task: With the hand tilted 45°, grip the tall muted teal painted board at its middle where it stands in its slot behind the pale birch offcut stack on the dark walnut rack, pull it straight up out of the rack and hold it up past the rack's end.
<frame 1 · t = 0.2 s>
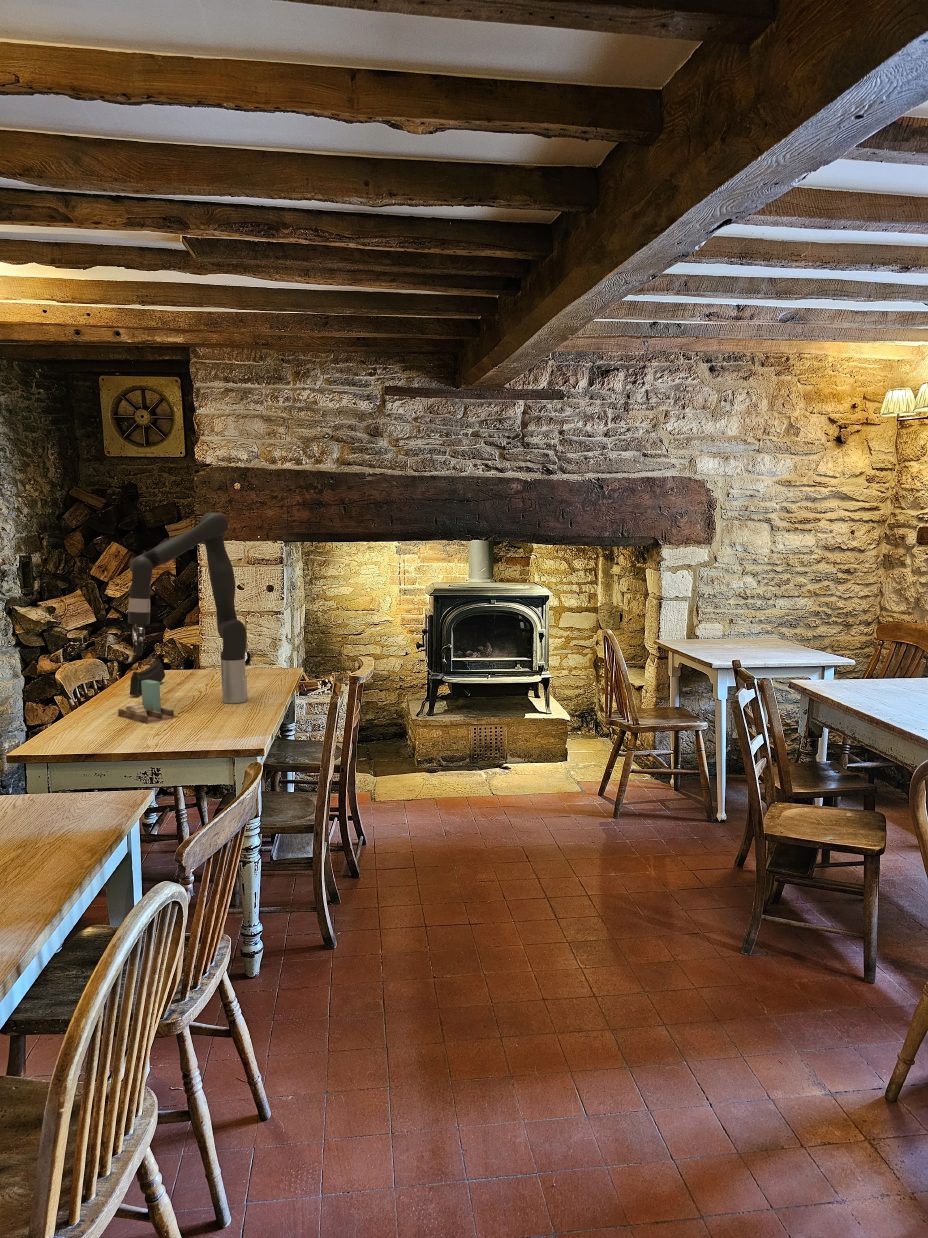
hand: (137, 654, 300), 23 cm above the table, tool pointing down, fingers open, 8 cm apart
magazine: (148, 690, 344), on the table
offcut stack: (135, 717, 293), point 1 cm above the table, touching walnut rack
teal board: (152, 713, 298), point 1 cm above the table, touching walnut rack
walnut rack: (148, 720, 294), on the table
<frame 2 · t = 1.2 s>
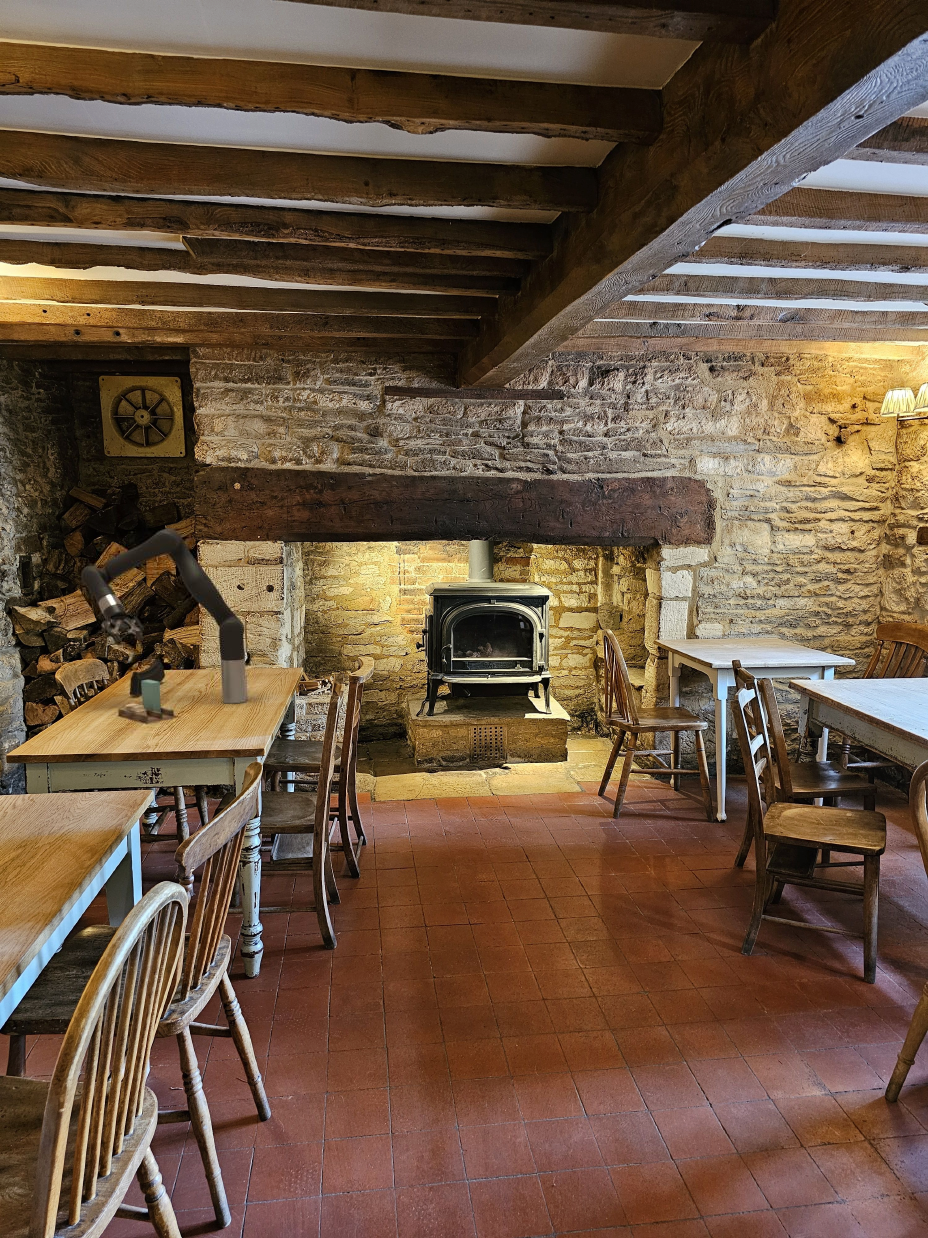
hand: (130, 642, 302), 27 cm above the table, tool tilted 45°, fingers open, 8 cm apart
nothing on the table moved.
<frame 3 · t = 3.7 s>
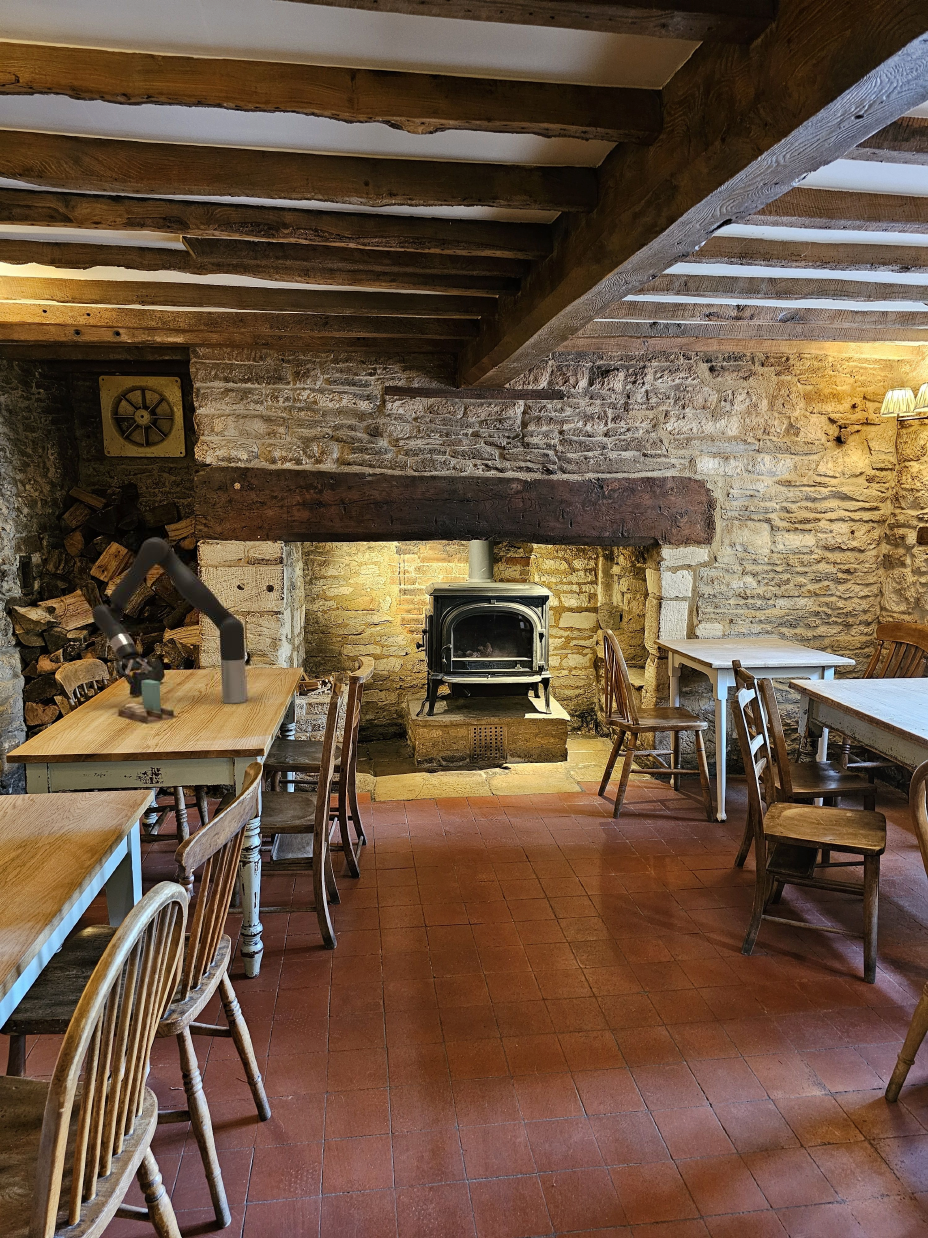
hand: (143, 682, 299), 13 cm above the table, tool tilted 45°, fingers open, 8 cm apart
nothing on the table moved.
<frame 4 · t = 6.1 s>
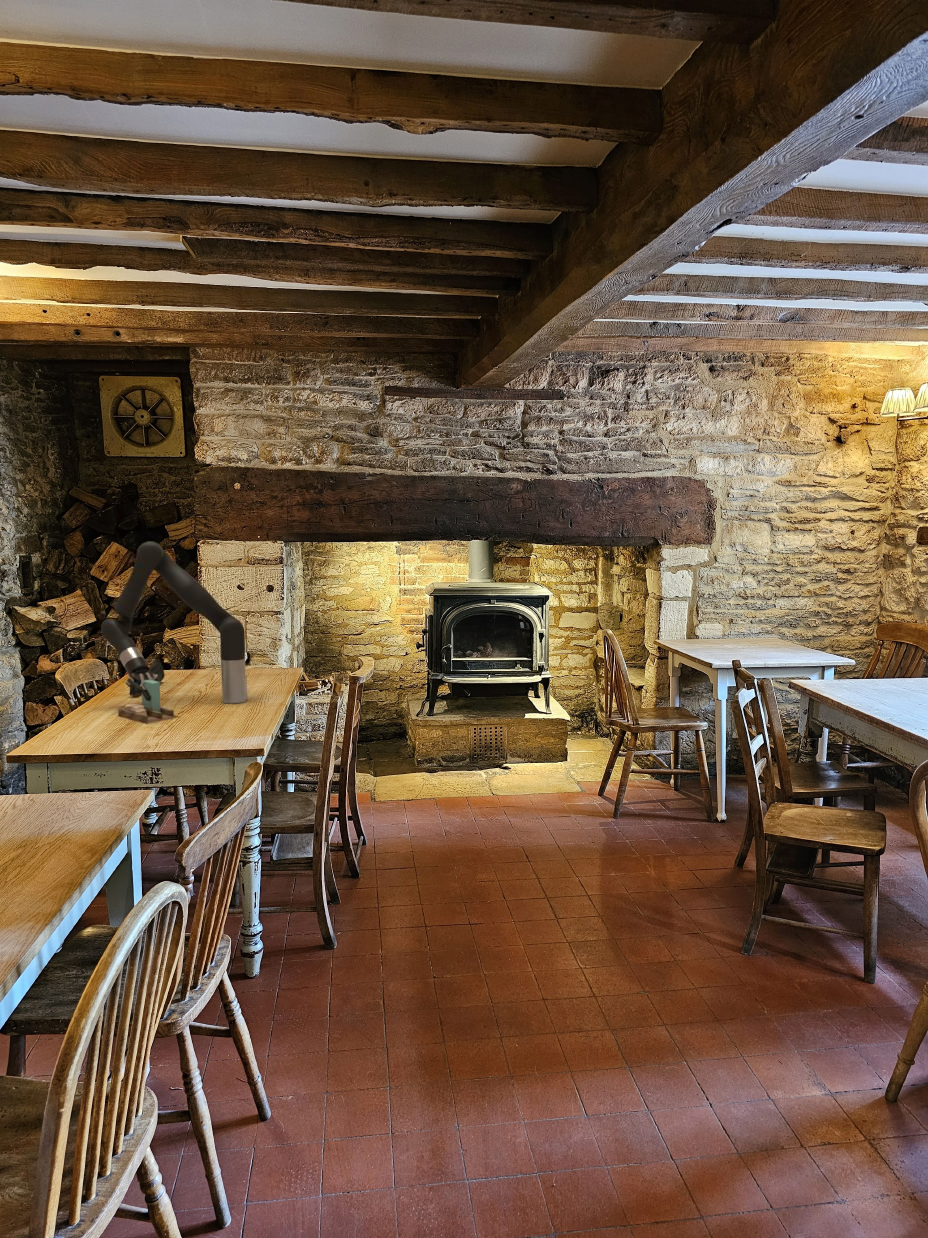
hand: (154, 698, 296), 7 cm above the table, tool tilted 45°, fingers closed on teal board, 3 cm apart
teal board: (151, 713, 298), point 2 cm above the table, touching gripper
everything else where it was.
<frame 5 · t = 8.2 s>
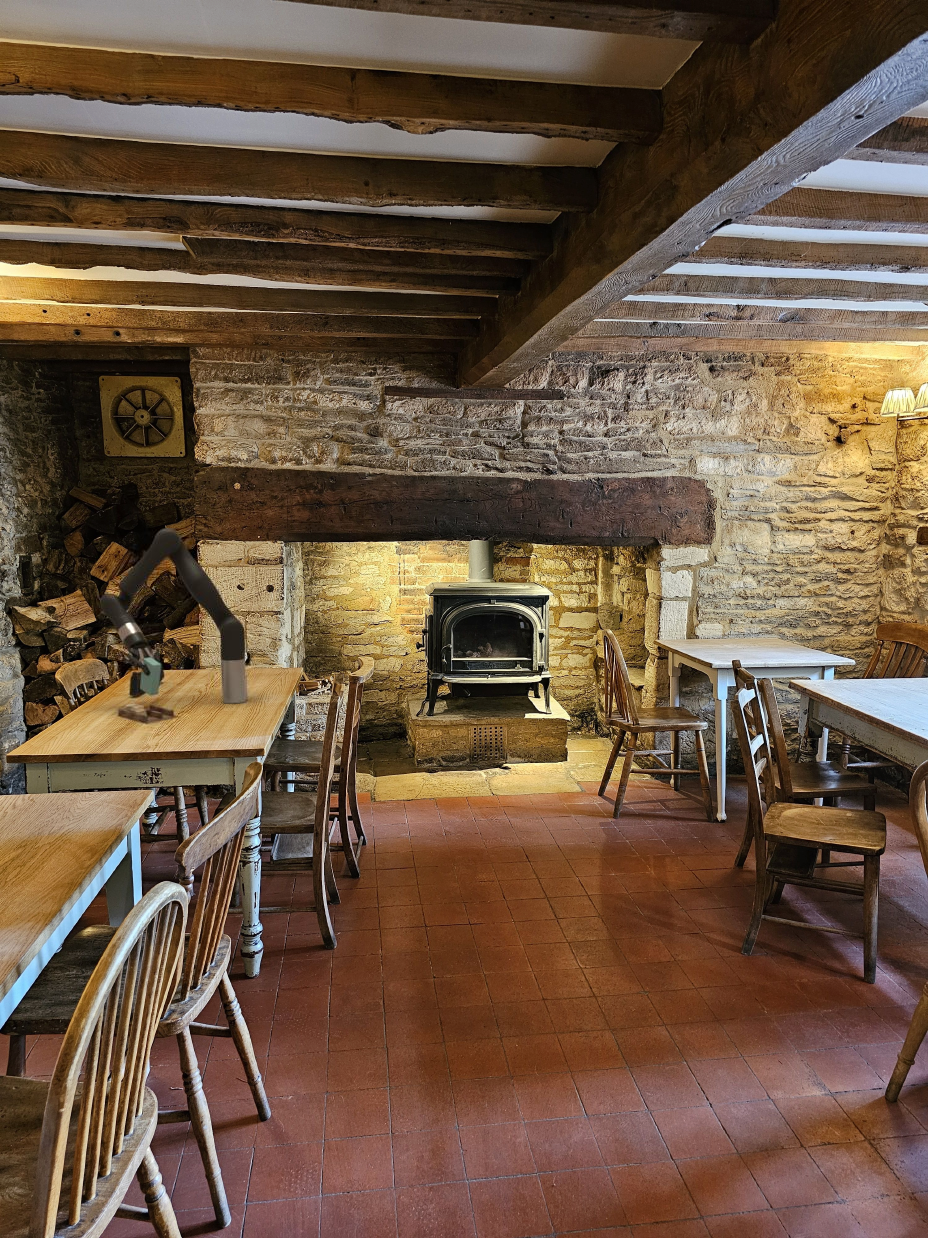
hand: (153, 673, 295), 17 cm above the table, tool tilted 45°, fingers closed on teal board, 2 cm apart
teal board: (148, 691, 298), point 10 cm above the table, tilted 15°, touching gripper
everything else where it was.
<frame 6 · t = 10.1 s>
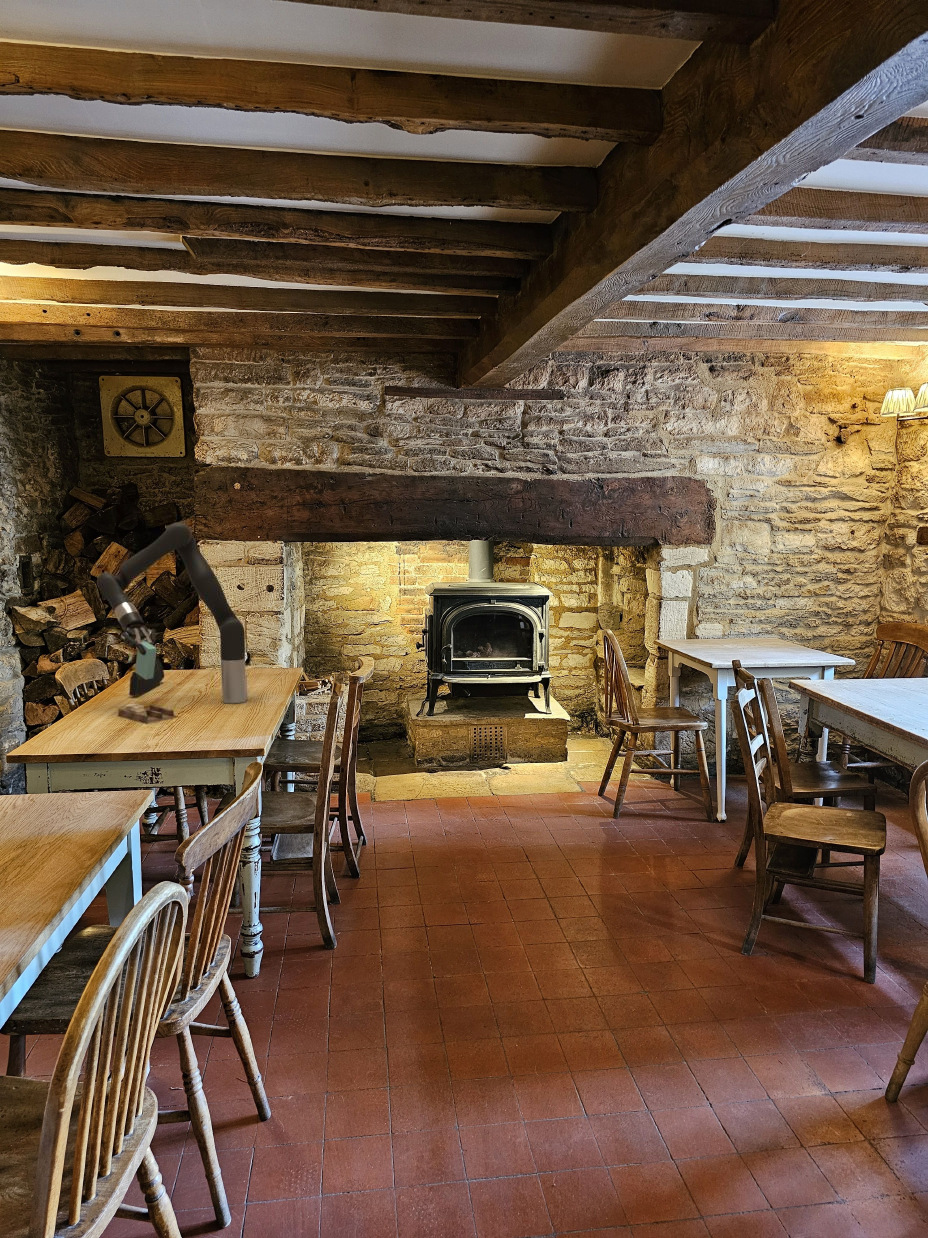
hand: (149, 653, 295), 24 cm above the table, tool tilted 45°, fingers closed on teal board, 2 cm apart
teal board: (144, 675, 298), point 15 cm above the table, tilted 16°, touching gripper
everything else where it was.
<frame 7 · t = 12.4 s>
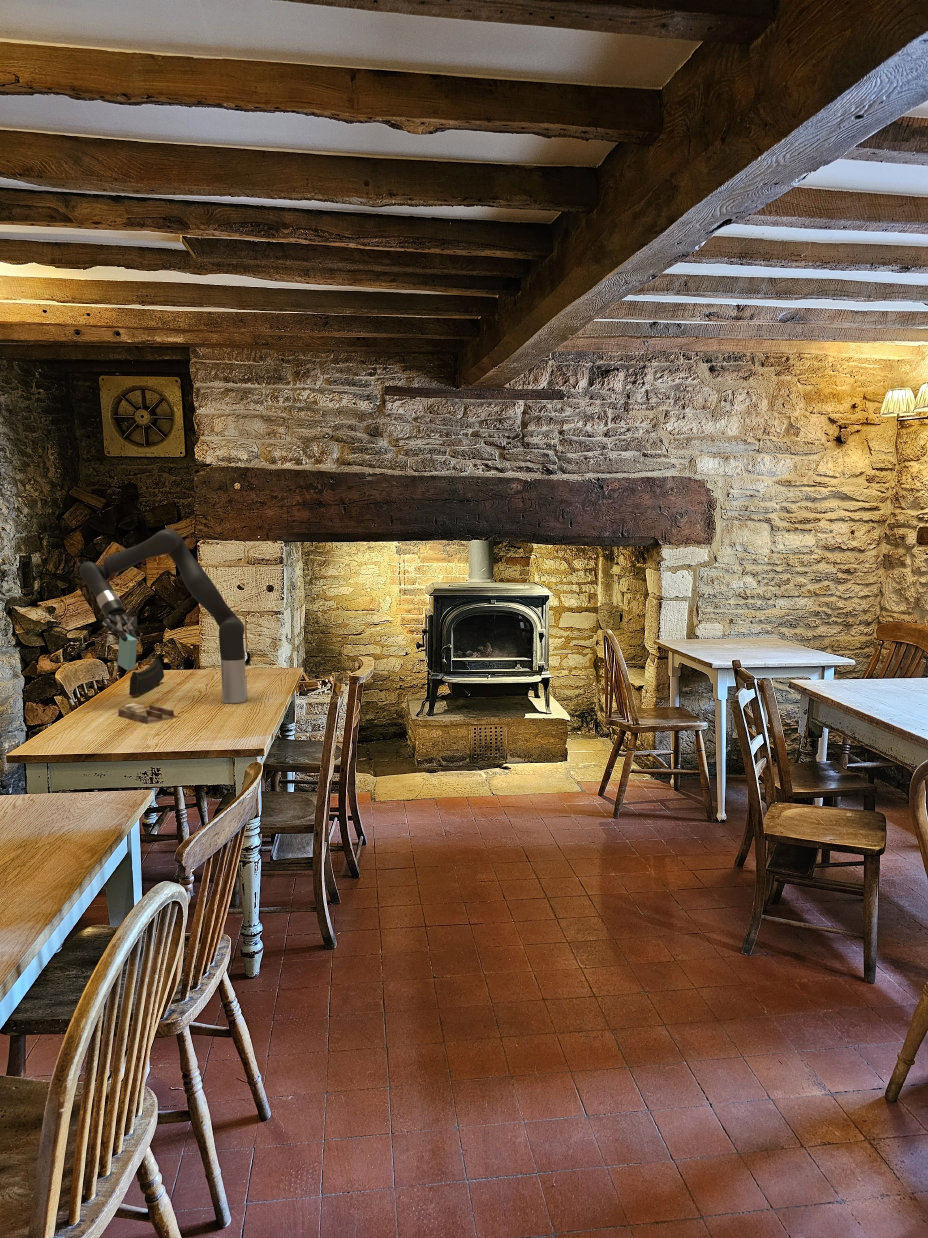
hand: (130, 639, 302), 28 cm above the table, tool tilted 45°, fingers closed on teal board, 2 cm apart
teal board: (126, 666, 305), point 17 cm above the table, tilted 13°, touching gripper
everything else where it was.
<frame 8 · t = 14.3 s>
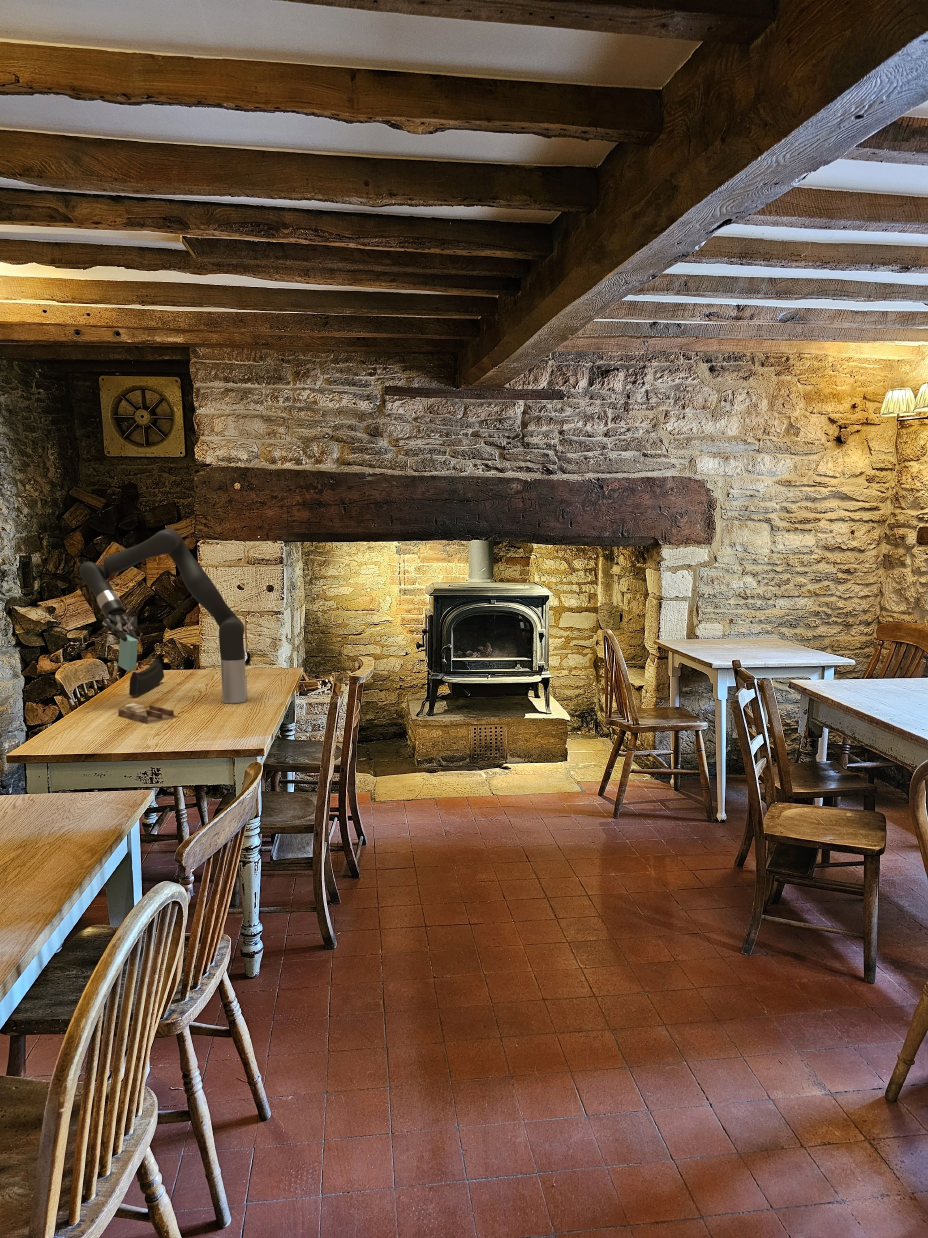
hand: (130, 639, 302), 28 cm above the table, tool tilted 45°, fingers closed on teal board, 3 cm apart
teal board: (126, 667, 305), point 17 cm above the table, tilted 12°, touching gripper
everything else where it was.
at the end: the gripper is holding teal board; teal board inside the target area (2.9 cm from its centre), point 16.8 cm above the table; offcut stack moved 0.0 cm from its start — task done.
